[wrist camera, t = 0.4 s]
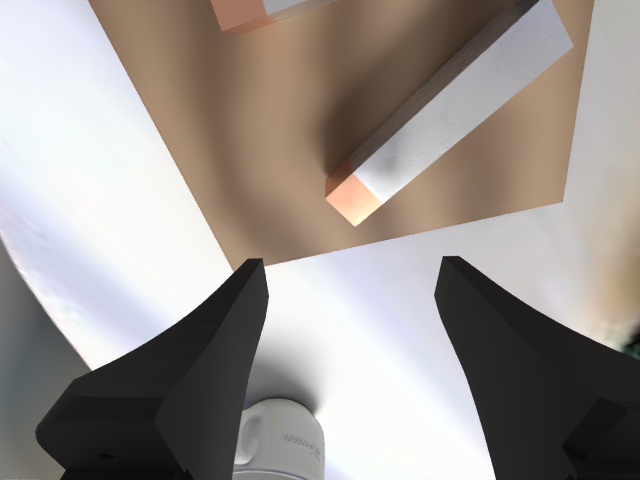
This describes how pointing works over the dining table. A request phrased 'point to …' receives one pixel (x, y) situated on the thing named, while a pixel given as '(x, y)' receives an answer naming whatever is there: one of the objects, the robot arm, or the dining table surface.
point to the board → (336, 116)
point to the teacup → (279, 443)
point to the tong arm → (449, 105)
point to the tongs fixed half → (259, 12)
